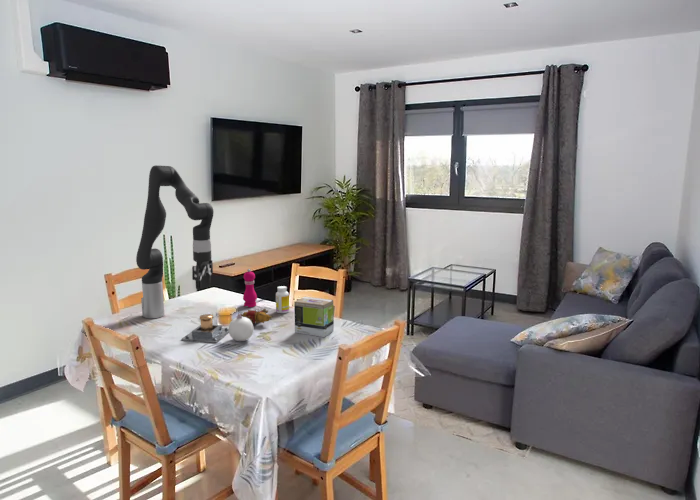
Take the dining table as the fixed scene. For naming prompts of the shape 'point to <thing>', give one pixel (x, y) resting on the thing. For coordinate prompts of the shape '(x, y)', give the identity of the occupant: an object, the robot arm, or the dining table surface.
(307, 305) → the tea box
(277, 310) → the supplement bottle
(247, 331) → the ornament
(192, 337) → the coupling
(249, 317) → the scarecrow
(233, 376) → the dining table surface
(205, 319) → the round knob
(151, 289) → the robot arm
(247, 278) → the pepper mill
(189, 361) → the dining table surface
